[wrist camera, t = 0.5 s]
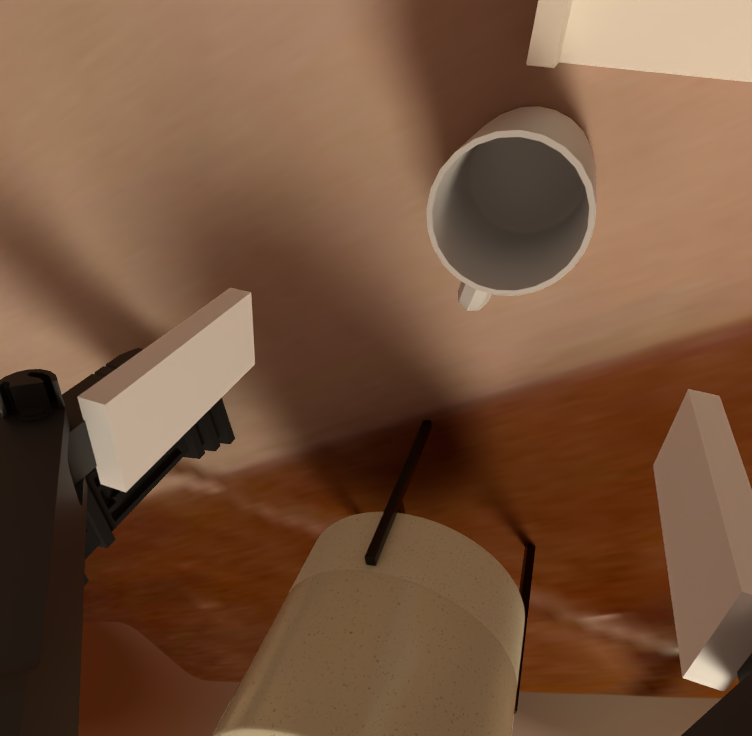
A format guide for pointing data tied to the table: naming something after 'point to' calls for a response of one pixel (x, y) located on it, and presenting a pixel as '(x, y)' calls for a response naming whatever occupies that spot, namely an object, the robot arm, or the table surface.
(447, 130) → the table surface
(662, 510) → the robot arm
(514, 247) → the cup
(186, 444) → the chess piece
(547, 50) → the tray
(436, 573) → the planter
